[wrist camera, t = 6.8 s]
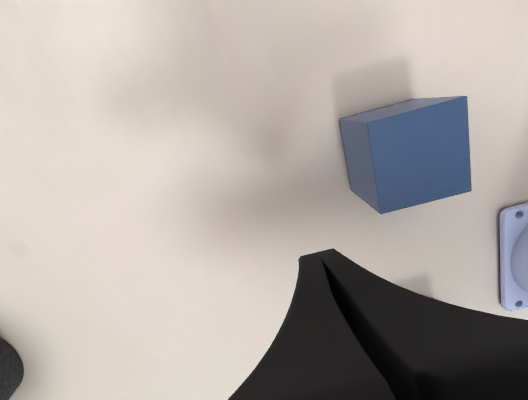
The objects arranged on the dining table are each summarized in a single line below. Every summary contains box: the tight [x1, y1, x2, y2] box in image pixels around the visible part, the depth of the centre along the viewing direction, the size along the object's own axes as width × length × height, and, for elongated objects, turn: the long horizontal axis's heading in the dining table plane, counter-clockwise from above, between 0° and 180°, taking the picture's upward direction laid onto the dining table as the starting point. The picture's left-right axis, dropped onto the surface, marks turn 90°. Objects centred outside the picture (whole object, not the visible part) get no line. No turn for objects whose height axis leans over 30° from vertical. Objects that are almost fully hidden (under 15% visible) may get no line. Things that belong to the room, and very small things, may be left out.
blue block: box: [339, 96, 471, 214], centre depth 16 cm, size 4×4×4 cm
